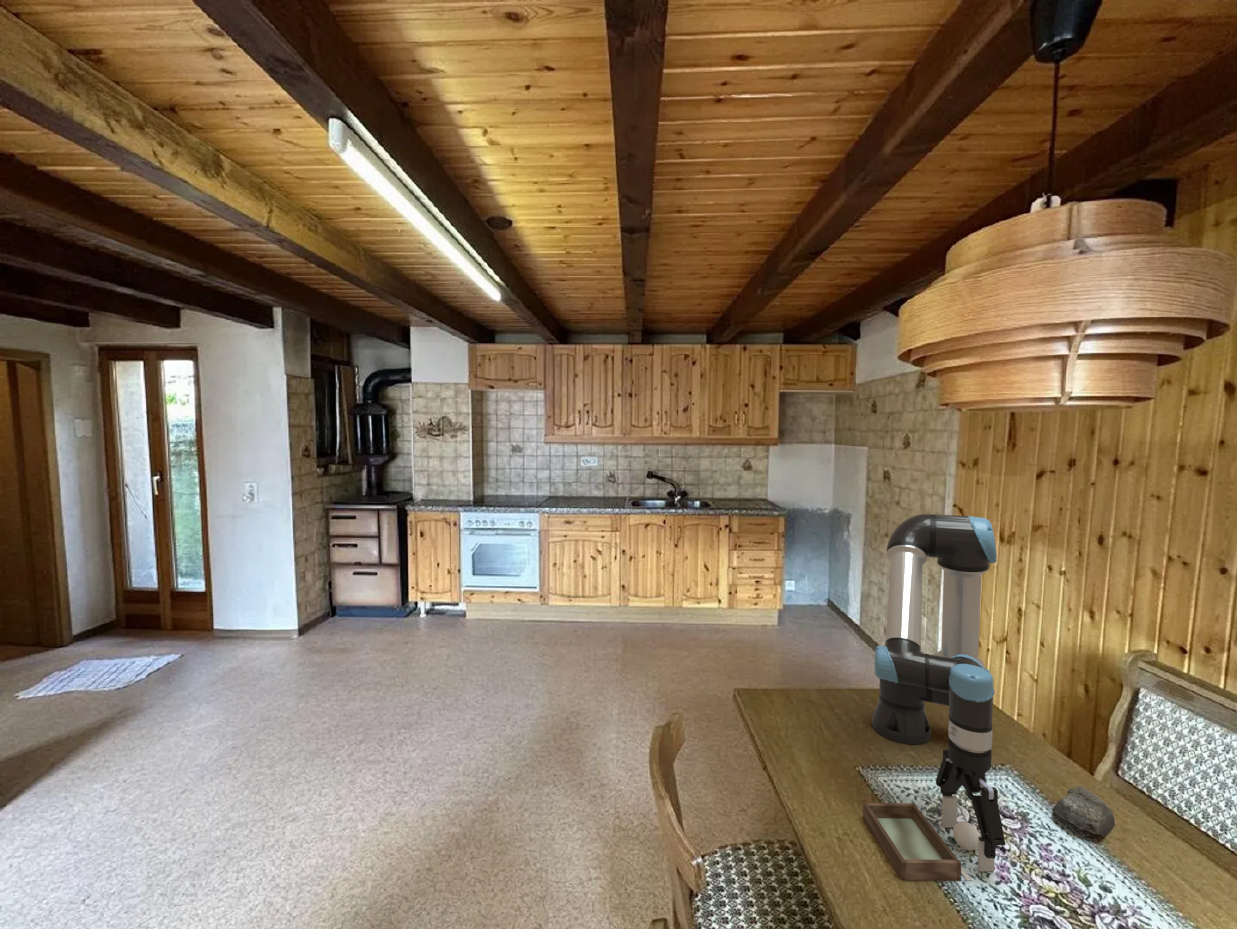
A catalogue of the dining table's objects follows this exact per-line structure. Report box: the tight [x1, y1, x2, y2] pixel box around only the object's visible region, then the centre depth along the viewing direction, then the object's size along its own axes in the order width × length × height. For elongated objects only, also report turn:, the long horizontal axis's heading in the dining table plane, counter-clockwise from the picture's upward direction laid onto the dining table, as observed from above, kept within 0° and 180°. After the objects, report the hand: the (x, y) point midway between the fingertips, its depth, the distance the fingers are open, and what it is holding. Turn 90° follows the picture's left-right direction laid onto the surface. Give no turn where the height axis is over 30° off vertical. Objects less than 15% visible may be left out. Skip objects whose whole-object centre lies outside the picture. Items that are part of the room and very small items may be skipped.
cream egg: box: [952, 821, 981, 852], centre depth 110 cm, size 5×5×5 cm
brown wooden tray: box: [862, 802, 962, 882], centre depth 110 cm, size 11×17×4 cm, turn 179°
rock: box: [1051, 785, 1116, 838], centre depth 117 cm, size 13×9×6 cm, turn 122°
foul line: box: [961, 866, 973, 882], centre depth 110 cm, size 1×17×1 cm, turn 179°
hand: (966, 847), depth 110 cm, fingers open, 11 cm apart
